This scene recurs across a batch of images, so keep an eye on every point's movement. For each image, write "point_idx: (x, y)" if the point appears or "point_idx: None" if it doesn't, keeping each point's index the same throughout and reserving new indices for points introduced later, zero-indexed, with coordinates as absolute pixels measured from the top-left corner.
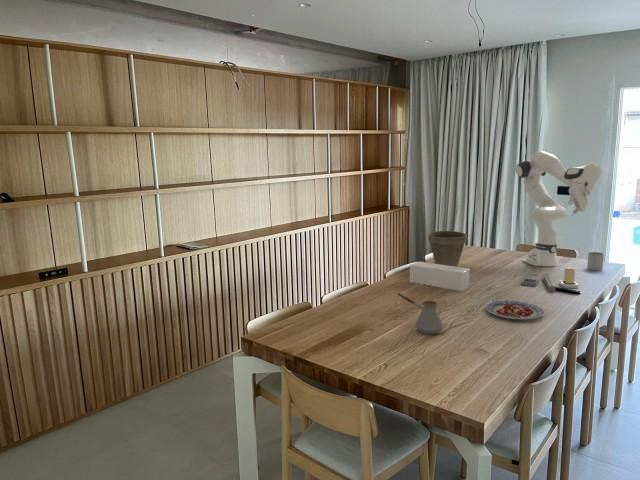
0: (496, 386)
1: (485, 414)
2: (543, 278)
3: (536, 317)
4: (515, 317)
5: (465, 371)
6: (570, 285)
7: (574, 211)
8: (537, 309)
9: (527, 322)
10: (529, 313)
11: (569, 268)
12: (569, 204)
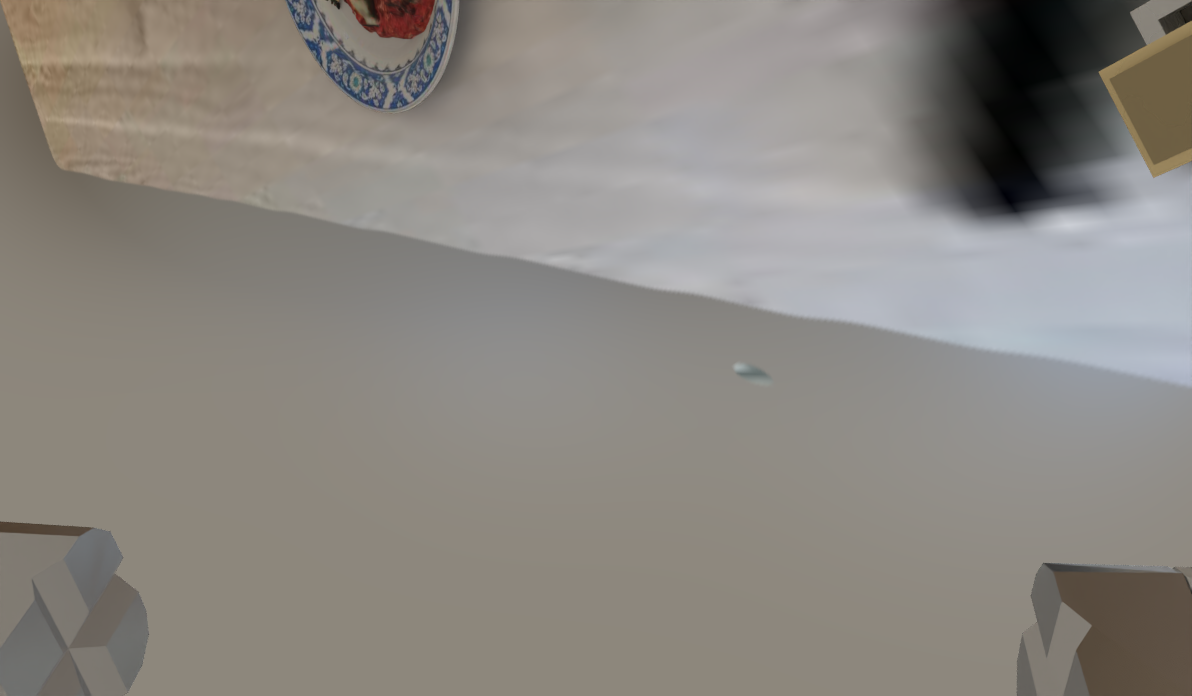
0: (102, 145)
1: (64, 164)
2: None
3: (347, 95)
4: (295, 2)
5: (81, 47)
6: None
7: (1072, 689)
8: (426, 54)
9: None
10: (378, 32)
11: (1150, 98)
12: (103, 546)
